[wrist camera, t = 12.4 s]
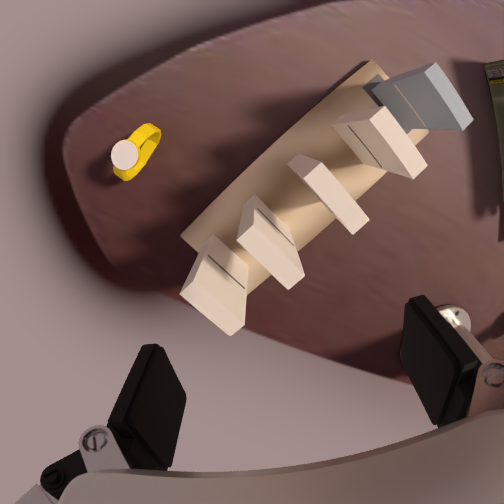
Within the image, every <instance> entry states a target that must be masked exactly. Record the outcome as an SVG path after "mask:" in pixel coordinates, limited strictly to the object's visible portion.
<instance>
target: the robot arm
mask: <svg viewBox="0 0 504 504" xmlns="http://www.w3.org/2000/svg"><path fill="white" fill-rule="evenodd" d="M470 329H471V321H470V317H469V315H468V314H467V312H466V311H465V310H464V309H463V308H461V307H459V306H457V305H445V306H441V307H438V308H435V307H434V306H433V305H432V303H431V302H430V301H429V300H428V299H427V298H426V297H425V296H424V295H420V296H416V297H413V298H410V299H409V301H408V303H406V304H405V311H404V324H403V336H402V345H401V350H400V359H401V363H402V365H403V367H404V369H405V371H406V372H407V374H408V376H409V378H410V380H411V382H412V384H413V386H414V388H415V390H416V392H417V394H418V395H419V397H420V400H421V401H422V404H423V406H424V407H425V410H426V412H427V414H428V416H429V418H430V420H431V422H432V424H433V425H436V424H437V426H438V429H435V430H432V431H430V432H427V433H424V434H421V435H418V436H415V437H413V438H409V439H406V440H403V441H400V442H398V443H394V444H391V445H388V446H384V447H381V448H377V449H374V450H370V451H366V452H362V453H358V454H354V455H350V456H345V457H341V458H336V459H331V460H326V461H321V462H315V463H310V464H303V465H296V466H290V467H281V468H272V469H262V470H248V471H231V472H178V471H167V469H168V467H171V466H172V462H173V457H174V453H175V448H176V444H177V439H178V435H179V430H180V426H181V422H182V417H183V413H184V409H185V404H186V393H185V391H184V389H183V387H182V385H181V383H180V381H179V380H178V377H177V375H176V373H175V371H174V369H173V367H172V365H171V363H170V361H169V359H168V357H167V355H166V352H165V350H164V348H163V347H160V346H159V345H158V344H147V345H143V346H142V347H141V350H140V351H139V353H138V356H137V358H136V360H135V362H134V364H133V366H132V368H131V370H130V373H129V375H128V377H127V379H126V381H125V383H124V386H123V388H122V390H121V392H120V394H119V397H118V399H117V401H116V403H115V406H114V408H113V410H112V412H111V415H110V417H109V419H108V424H107V426H102V425H97V426H93V427H90V428H89V429H87V430H86V431H85V432H84V433H83V434H82V435H81V437H80V440H79V450H77V451H75V452H74V453H72V454H70V455H68V456H67V457H64V458H63V459H61V460H59V461H57V462H55V463H53V464H51V465H49V466H48V467H47V468H45V470H44V471H43V472H42V475H41V479H40V482H41V485H40V486H39V485H38V484H36V485H35V486H33V487H32V488H31V489H30V490H29V491H28V492H27V493H26V494H25V495H24V496H22V497H21V498H20V499H19V500H18V501H17V502H16V503H15V504H504V362H503V361H500V360H493V359H492V358H491V356H490V355H489V354H488V353H487V352H486V350H485V349H484V348H483V347H482V345H481V344H480V343H479V342H478V341H477V340H476V338H475V337H474V336H473V335H472V334H471V333H470Z"/></svg>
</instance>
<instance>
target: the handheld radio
mask: <svg viewBox="0 0 504 504" xmlns="http://www.w3.org/2000/svg"><path fill="white" fill-rule="evenodd" d="M484 67H485V71H486V75H487V79H488V83H489V87H490V92H491V97H492V101H493V107H494V112H495V118H496V124H497V131H498V138H499V146H500V156H501V168H502V187H503V202H504V60H499V61H494V62H489V63H485V64H484Z"/></svg>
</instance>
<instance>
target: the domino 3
mask: <svg viewBox="0 0 504 504" xmlns="http://www.w3.org/2000/svg"><path fill="white" fill-rule="evenodd" d="M287 165H288V166H289V167H290V168H291V169H292V170H293V171H294V172H295V173H296V174H297V175H298V176H299V177H300V179H301V180H302V181H303V182H304V183H305V184H306V185H307V186H308V187H309V188H310V189H311V191H312V192H313V193H314V194H315V195H316V196H317V197H318V198H319V200H320V201H321V202H322V203H323V204H324V205H325V206H326V207H327V208H328V209H329V211H330V212H331V213H333V214H334V215H335V216H336V218H337V219H338V220H339V221H340V222H341V223H342V224H343V225H344V226H345V227H346V228H347V229H348V230H349V232H350V233H351V234H352V235H353V234H354V233H356V232H357V231H358V230H359V229H360V228H361V227H362V226H363V225H365V224H366V223H367V222H368V221H369V218H368V217H367V216H366V214H365V213H364V212H363V211H362V209H361V208H360V207H359V206H358V204H357V203H356V202H355V201H354V199H353V198H352V197H351V196H350V195H349V193H348V192H347V191H346V190H345V189H344V187H343V186H342V185H341V184H340V183H339V181H338V180H337V179H336V178H335V177H334V176H333V174H332V173H331V172H330V171H329V170H328V169H327V168H326V166H325V165H324V164H323V163H322V162H320V161H318V160H315V159H312V158H310V157H307V156H304V155H302V154H298V155H297V156H295V157H294V158H293V159H292V160H291V161H290V162H289V163H288V164H287Z"/></svg>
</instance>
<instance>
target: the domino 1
mask: <svg viewBox="0 0 504 504" xmlns="http://www.w3.org/2000/svg"><path fill="white" fill-rule="evenodd" d="M248 268H249V267H248V266H247V265H246V264H245V263H244V262H243V261H242V260H241V259H240V258H239V257H238V256H237V255H236V254H235V253H234V252H233V251H232V250H230V249H229V248H228V247H227V246H226V245H225V244H224V243H223V242H222V241H221V240H220V239H219V238H218V237H217V236H216V235H215V234H213V235H212V236H211V237H210V238H209V239H208V240H207V241H206V242H205V243H204V244H203V246H202V248H201V250H200V252H199V254H198V256H197V258H196V260H195V262H194V264H193V267H192V269H191V271H190V273H189V275H188V277H187V279H186V281H185V283H184V285H183V288H182V290H181V292H180V295H181V296H182V297H183V298H185V299H186V300H187V301H188V302H189V303H190V304H192V305H193V306H194V307H195V308H196V309H198V310H199V311H200V312H201V313H202V314H204V315H205V316H206V317H207V318H208V319H210V320H211V321H212V322H213V323H214V324H216V325H217V326H218V327H219V328H221V329H222V330H223V331H224V332H225V333H227V334H228V335H229V336H231V335H232V334H234V333H235V332H236V331H238V330H239V329H240V328H241V327H243V326H244V325H245V311H246V297H247V282H248Z"/></svg>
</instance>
